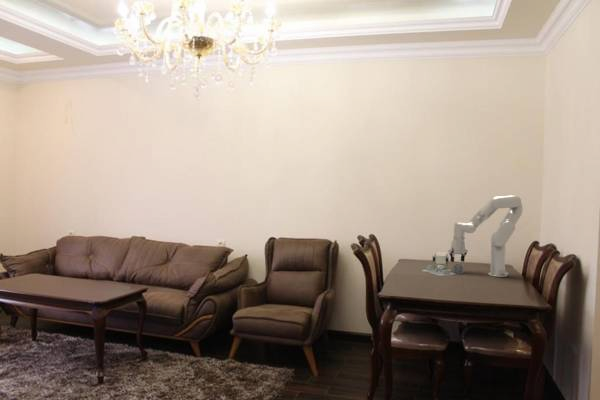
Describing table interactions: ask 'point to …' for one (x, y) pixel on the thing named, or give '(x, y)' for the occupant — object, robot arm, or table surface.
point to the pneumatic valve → (440, 260)
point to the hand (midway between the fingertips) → (457, 261)
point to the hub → (458, 268)
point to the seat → (438, 271)
